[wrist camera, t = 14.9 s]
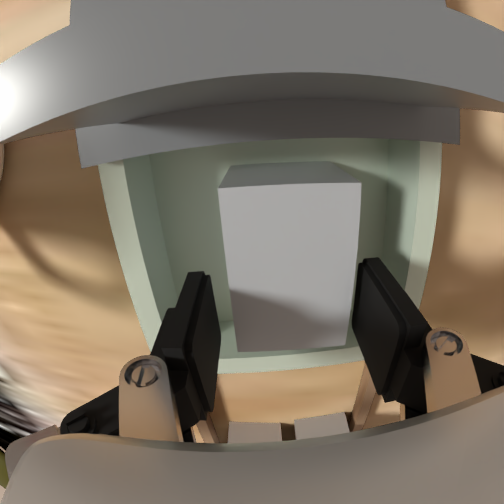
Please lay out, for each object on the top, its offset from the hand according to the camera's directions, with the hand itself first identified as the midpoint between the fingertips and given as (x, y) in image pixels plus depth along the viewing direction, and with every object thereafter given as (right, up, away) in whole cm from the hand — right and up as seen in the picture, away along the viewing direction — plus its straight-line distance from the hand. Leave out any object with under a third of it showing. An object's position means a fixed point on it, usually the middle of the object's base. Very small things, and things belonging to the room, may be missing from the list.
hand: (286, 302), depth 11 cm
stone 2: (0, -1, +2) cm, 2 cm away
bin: (0, +3, +3) cm, 4 cm away
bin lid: (-1, +11, -5) cm, 12 cm away
